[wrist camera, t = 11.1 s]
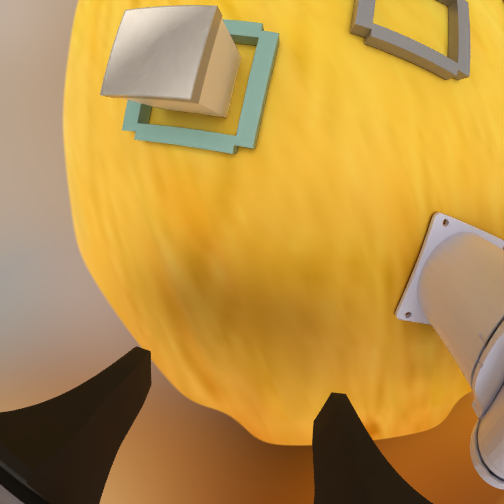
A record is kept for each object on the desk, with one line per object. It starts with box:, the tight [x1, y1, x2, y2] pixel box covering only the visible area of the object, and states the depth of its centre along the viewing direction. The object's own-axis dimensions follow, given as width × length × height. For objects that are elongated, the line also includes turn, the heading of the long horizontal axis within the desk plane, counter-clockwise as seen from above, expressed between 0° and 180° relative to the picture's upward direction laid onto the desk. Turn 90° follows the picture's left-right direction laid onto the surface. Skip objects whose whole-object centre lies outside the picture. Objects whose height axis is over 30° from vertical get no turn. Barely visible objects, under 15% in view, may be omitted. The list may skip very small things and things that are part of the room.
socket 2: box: [350, 0, 470, 80], centre depth 10 cm, size 8×8×2 cm
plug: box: [100, 5, 241, 118], centre depth 11 cm, size 4×4×7 cm
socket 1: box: [122, 20, 279, 154], centre depth 14 cm, size 8×8×2 cm
